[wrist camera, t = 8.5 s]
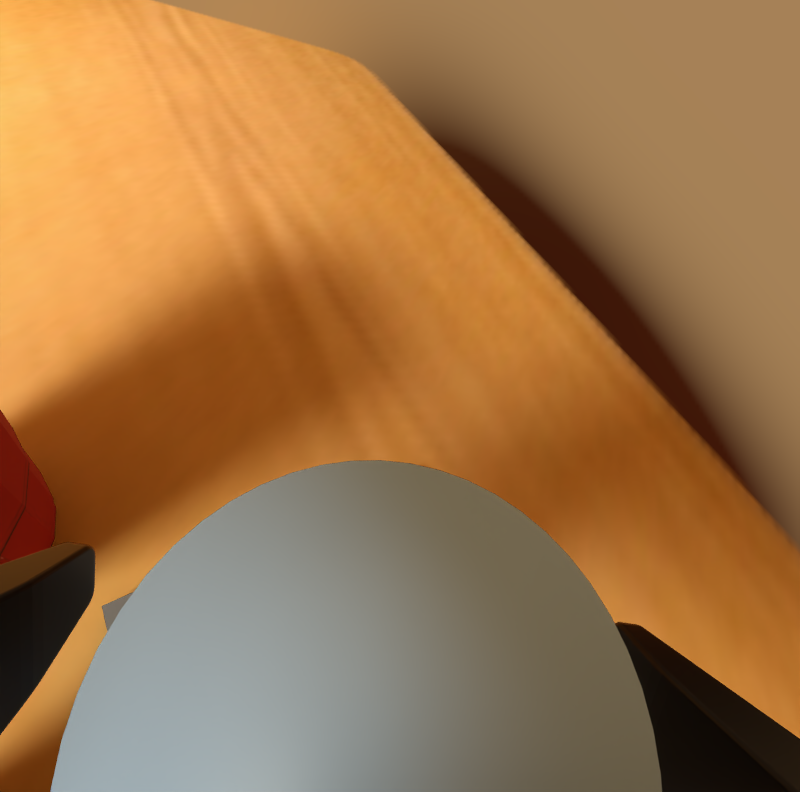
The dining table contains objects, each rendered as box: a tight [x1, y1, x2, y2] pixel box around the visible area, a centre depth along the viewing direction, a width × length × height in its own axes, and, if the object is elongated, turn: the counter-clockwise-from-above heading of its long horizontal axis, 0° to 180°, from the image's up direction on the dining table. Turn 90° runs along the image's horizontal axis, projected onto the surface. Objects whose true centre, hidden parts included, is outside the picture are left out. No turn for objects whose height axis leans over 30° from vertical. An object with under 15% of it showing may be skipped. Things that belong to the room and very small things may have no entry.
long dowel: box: [50, 460, 662, 792], centre depth 9 cm, size 4×4×14 cm
